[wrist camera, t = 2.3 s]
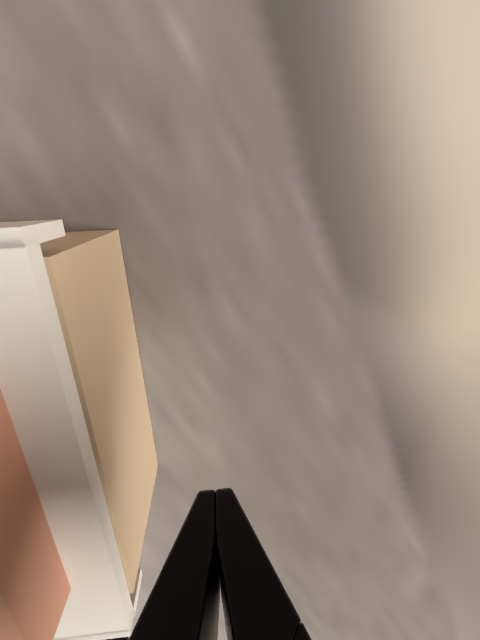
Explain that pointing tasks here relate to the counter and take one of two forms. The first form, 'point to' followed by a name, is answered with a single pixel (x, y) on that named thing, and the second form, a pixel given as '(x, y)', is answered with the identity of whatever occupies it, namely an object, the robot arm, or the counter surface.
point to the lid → (49, 469)
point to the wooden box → (107, 377)
